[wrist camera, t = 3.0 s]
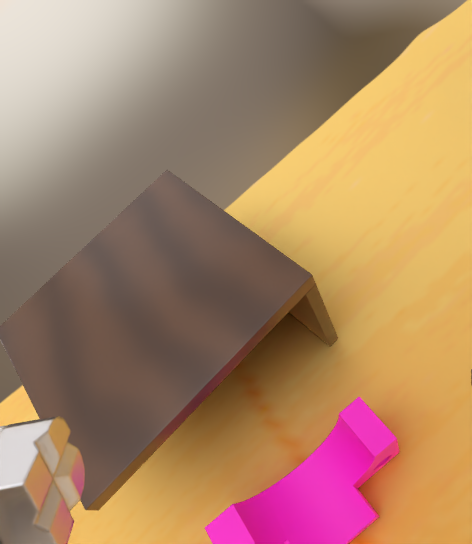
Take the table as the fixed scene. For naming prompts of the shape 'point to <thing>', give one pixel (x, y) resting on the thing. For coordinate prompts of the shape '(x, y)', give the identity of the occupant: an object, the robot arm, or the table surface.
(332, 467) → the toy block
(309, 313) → the shelf
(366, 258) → the table surface
